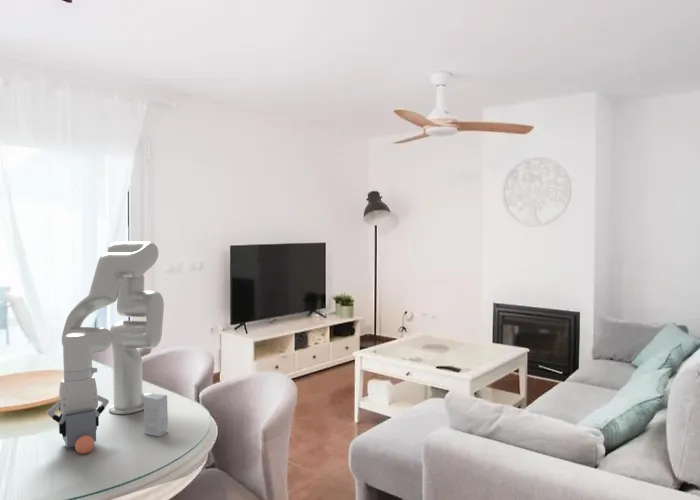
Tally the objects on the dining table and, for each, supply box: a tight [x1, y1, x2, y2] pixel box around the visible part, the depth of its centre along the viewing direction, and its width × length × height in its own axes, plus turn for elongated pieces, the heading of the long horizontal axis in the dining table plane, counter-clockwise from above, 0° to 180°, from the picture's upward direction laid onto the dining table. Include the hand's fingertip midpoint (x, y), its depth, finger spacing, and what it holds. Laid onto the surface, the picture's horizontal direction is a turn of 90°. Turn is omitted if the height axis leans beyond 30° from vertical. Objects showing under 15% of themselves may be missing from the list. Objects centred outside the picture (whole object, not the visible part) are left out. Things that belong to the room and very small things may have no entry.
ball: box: [74, 436, 95, 455], centre depth 151 cm, size 5×5×5 cm
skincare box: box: [143, 392, 169, 437], centre depth 166 cm, size 6×4×12 cm
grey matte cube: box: [62, 410, 97, 448], centre depth 156 cm, size 8×8×9 cm
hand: (79, 431), depth 157 cm, fingers closed on grey matte cube, 7 cm apart
